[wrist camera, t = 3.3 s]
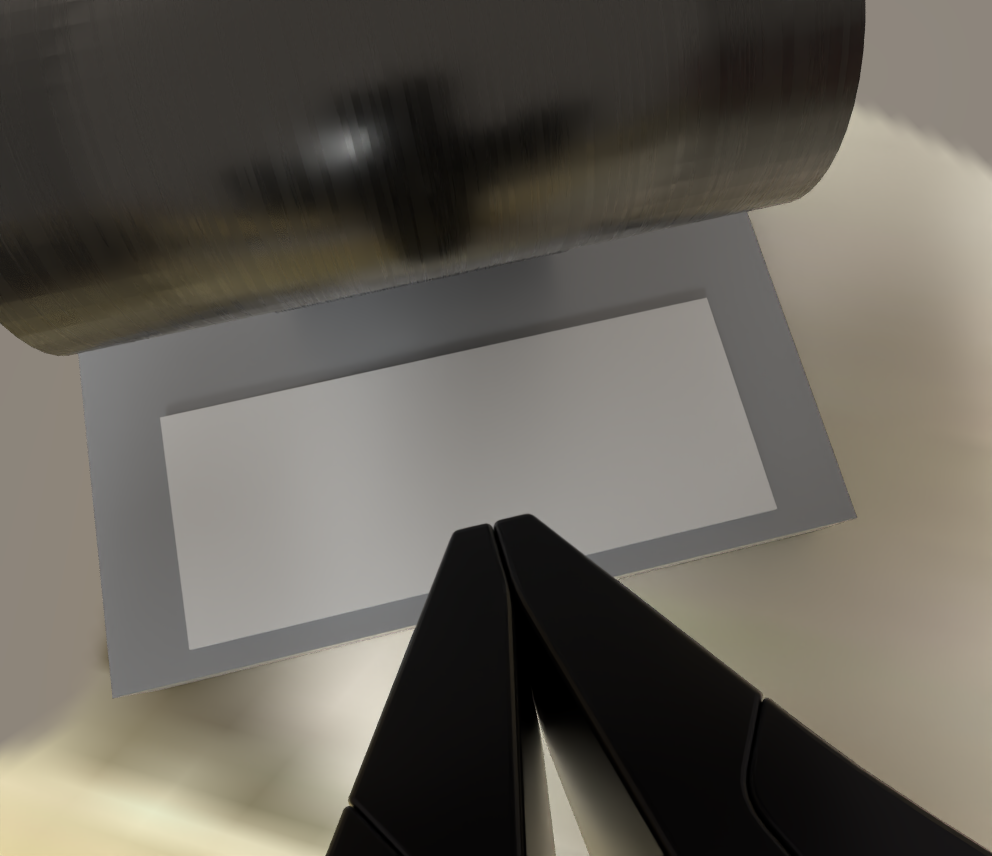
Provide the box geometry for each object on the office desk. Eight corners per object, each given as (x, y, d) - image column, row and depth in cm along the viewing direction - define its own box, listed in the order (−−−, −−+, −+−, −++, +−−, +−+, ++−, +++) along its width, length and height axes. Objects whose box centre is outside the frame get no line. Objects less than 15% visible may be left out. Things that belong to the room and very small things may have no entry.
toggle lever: (558, 264, 16) (902, 173, 5) (288, 322, 15) (-50, 375, 4) (536, 144, 15) (855, -280, 4) (257, 201, 15) (-210, -97, 4)
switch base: (813, 531, 16) (865, 515, 14) (160, 690, 15) (103, 699, 13) (634, 8, 20) (651, -71, 18) (93, 112, 19) (39, 42, 17)
